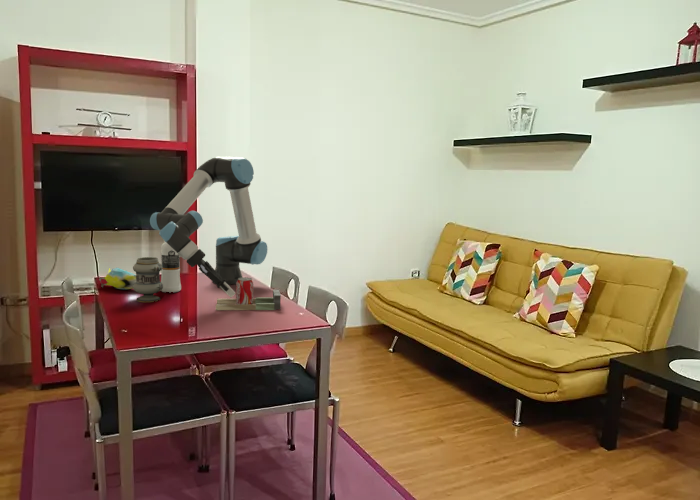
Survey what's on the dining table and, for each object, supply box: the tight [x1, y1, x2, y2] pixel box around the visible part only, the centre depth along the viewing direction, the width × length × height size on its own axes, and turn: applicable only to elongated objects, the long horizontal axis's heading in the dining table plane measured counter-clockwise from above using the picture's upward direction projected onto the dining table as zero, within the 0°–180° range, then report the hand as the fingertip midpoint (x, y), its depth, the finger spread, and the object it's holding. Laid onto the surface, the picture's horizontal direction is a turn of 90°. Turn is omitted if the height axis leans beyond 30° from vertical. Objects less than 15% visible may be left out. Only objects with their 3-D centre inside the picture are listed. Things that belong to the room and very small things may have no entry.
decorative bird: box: [98, 267, 136, 291], centre depth 262 cm, size 14×30×9 cm, turn 61°
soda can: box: [235, 276, 254, 304], centre depth 235 cm, size 7×7×12 cm
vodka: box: [160, 241, 182, 294], centre depth 259 cm, size 9×9×30 cm
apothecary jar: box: [132, 256, 163, 303], centre depth 241 cm, size 12×12×18 cm
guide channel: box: [215, 289, 282, 311], centre depth 237 cm, size 12×26×6 cm, turn 101°
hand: (233, 295), depth 234 cm, fingers closed
